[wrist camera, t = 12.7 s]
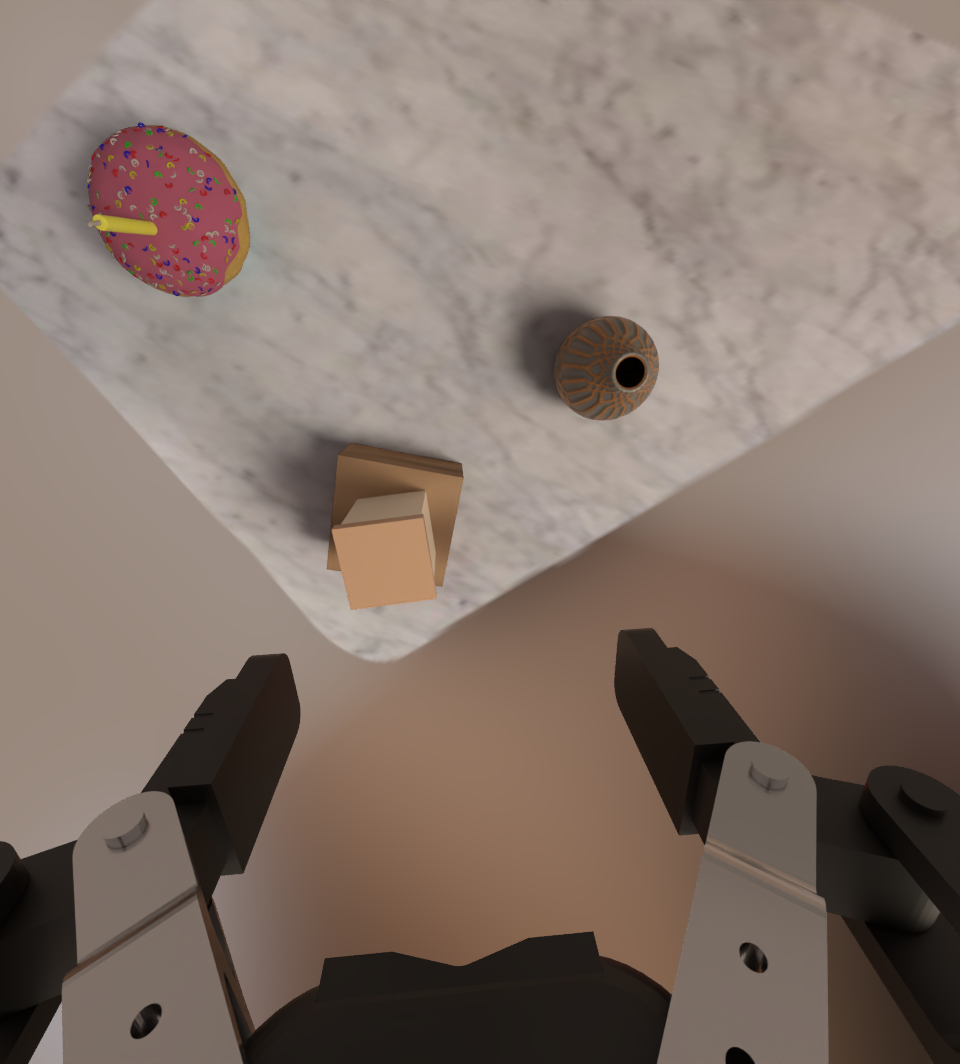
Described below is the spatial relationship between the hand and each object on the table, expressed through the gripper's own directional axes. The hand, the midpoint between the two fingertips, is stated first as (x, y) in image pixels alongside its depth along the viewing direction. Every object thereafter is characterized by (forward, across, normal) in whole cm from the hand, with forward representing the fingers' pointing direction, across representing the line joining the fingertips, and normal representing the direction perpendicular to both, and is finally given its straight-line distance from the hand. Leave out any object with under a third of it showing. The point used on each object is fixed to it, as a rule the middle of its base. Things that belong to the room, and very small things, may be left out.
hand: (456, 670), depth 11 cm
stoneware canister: (+24, +4, +5) cm, 25 cm away
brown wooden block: (+29, +5, +5) cm, 30 cm away
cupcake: (+29, +16, -15) cm, 36 cm away
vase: (+29, -11, -5) cm, 31 cm away
